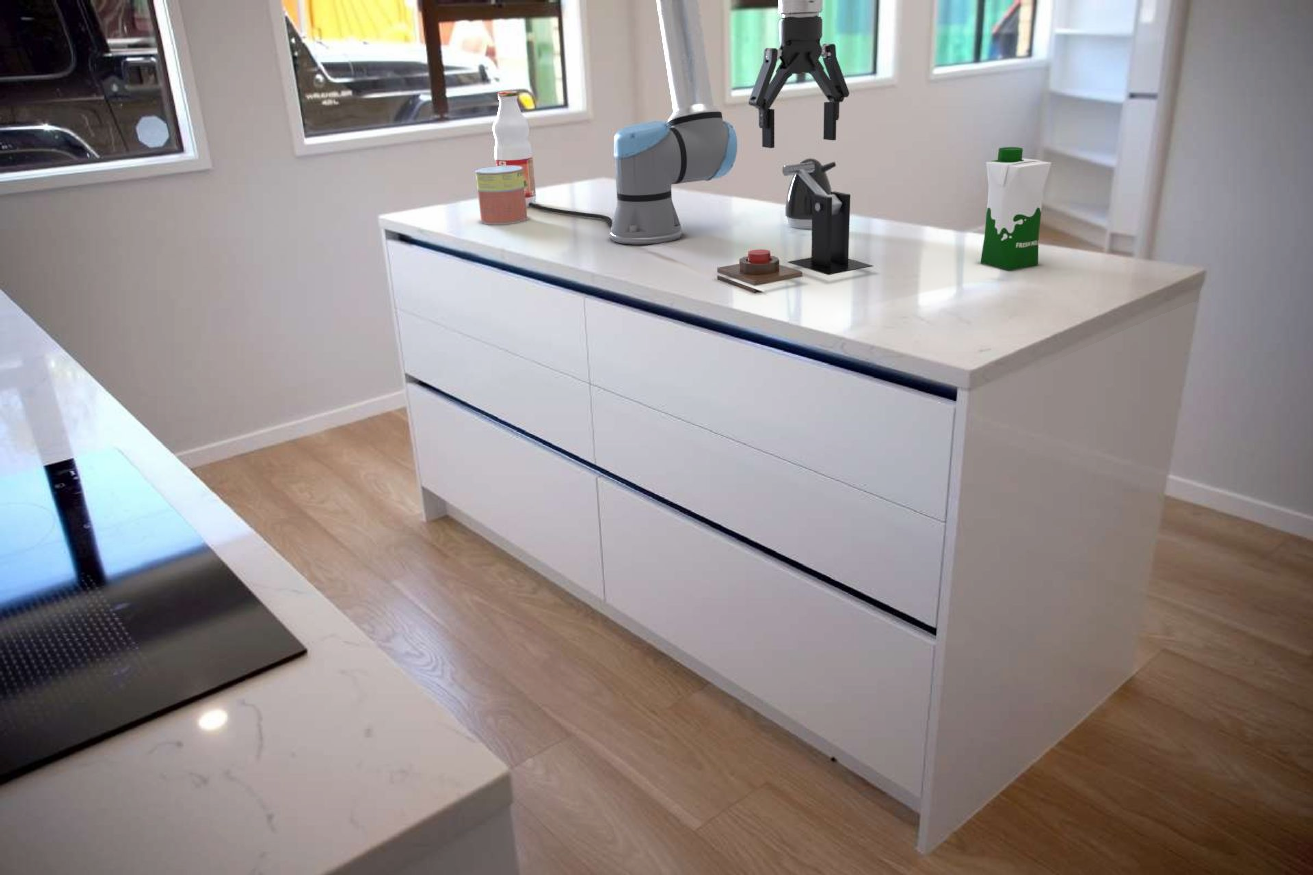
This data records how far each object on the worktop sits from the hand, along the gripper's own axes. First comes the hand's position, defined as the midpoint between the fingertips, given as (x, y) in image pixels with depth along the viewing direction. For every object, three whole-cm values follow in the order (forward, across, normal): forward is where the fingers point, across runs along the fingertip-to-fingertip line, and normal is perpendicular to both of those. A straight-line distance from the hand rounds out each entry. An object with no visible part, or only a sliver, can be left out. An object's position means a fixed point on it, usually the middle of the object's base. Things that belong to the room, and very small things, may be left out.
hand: (799, 143), depth 180 cm
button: (+18, -14, -7) cm, 24 cm away
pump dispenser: (+22, +18, +21) cm, 35 cm away
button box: (+22, -14, -7) cm, 27 cm away
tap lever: (+8, 0, -4) cm, 9 cm away
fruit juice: (+21, -19, +96) cm, 100 cm away
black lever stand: (+22, 0, -9) cm, 24 cm away
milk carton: (+22, +28, -25) cm, 44 cm away
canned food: (+21, -29, +80) cm, 87 cm away
